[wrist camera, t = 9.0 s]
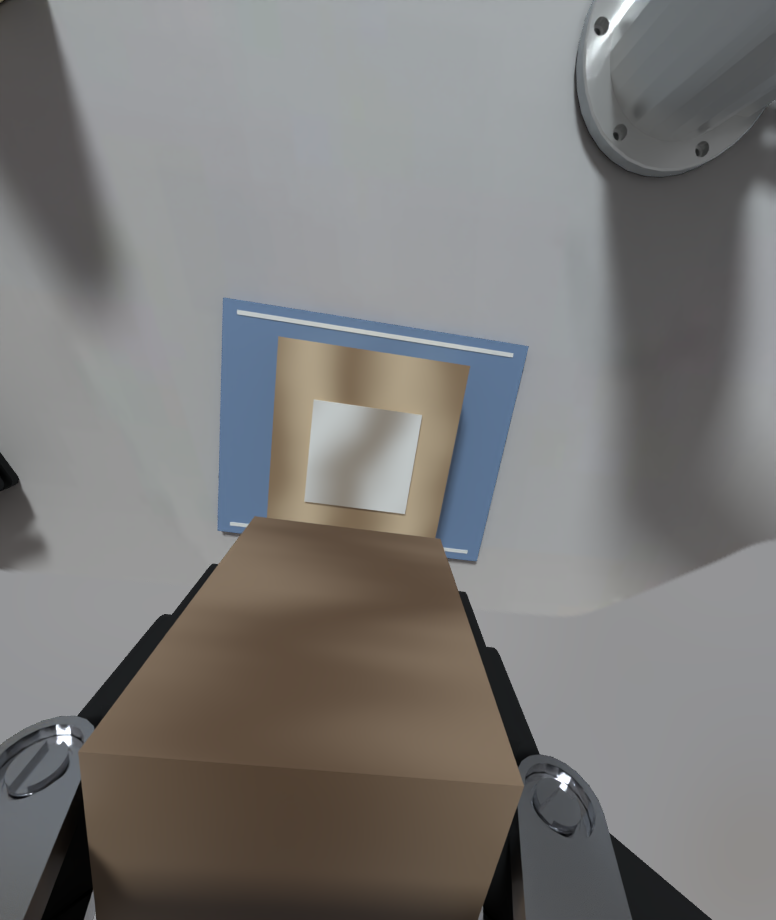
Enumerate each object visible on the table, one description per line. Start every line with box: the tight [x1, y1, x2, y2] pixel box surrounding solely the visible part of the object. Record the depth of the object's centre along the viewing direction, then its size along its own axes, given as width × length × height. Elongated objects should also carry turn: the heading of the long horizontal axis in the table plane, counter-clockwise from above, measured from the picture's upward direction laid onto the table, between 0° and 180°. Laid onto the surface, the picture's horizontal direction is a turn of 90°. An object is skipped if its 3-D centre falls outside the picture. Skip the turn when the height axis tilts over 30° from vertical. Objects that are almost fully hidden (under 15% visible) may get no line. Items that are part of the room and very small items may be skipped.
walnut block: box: [78, 516, 524, 920], centre depth 8 cm, size 5×5×6 cm
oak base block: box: [267, 336, 470, 538], centre depth 27 cm, size 12×14×5 cm
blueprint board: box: [218, 298, 529, 561], centre depth 29 cm, size 22×18×1 cm
